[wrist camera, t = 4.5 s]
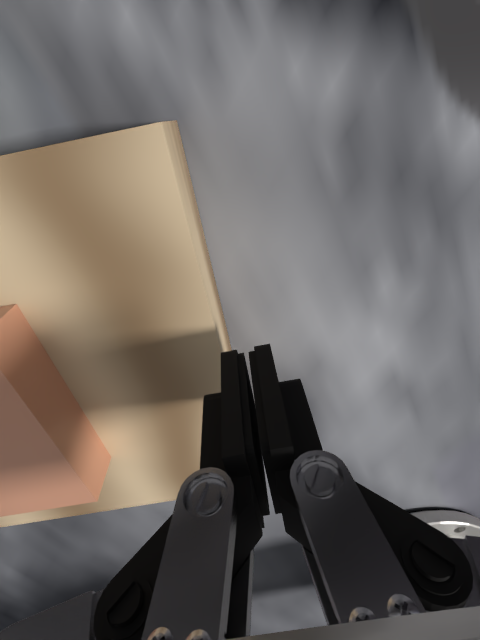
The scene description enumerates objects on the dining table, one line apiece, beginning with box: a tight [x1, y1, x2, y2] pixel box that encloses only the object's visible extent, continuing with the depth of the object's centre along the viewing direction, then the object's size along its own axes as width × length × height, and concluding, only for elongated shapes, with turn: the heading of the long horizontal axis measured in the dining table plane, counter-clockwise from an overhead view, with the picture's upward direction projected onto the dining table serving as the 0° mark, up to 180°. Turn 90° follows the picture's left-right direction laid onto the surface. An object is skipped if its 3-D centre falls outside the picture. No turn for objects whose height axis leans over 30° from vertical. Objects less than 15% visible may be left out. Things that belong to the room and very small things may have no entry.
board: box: [0, 121, 232, 527], centre depth 14 cm, size 18×16×4 cm
